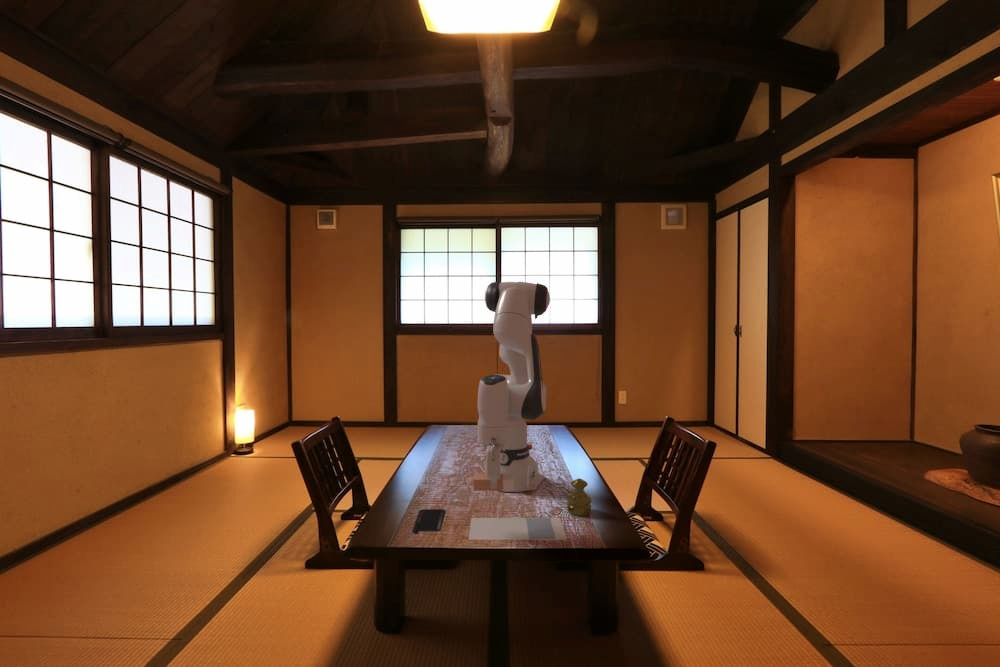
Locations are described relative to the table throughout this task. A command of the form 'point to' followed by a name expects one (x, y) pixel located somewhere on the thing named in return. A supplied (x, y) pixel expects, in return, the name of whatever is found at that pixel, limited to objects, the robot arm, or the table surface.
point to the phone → (429, 520)
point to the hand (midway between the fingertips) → (493, 483)
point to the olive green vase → (579, 499)
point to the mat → (516, 529)
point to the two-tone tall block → (502, 483)
